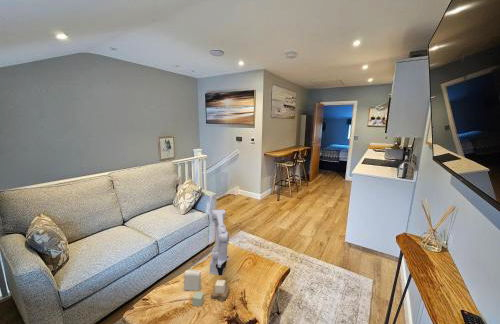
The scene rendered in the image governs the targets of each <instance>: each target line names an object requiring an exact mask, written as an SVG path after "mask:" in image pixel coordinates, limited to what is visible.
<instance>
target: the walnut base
mask: <svg viewBox="0 0 500 324" xmlns="http://www.w3.org/2000/svg"><path fill="white" fill-rule="evenodd" d="M229 291H231V287H230V285H226V288H225V291H224V294H218V293H215V287H214V288H213V290H212V292H211V294H210V300H211V299H217V300H222V301H221V302H223V301H226V299H228V298H229V297H228V296H229V294H230V292H229Z"/></svg>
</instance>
